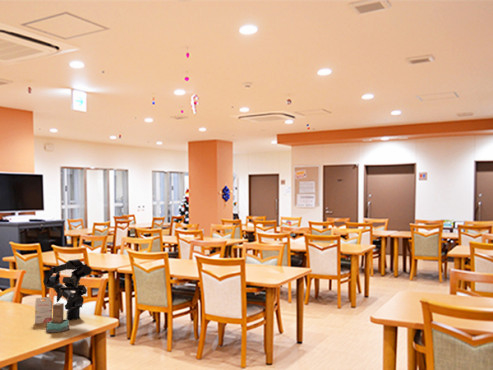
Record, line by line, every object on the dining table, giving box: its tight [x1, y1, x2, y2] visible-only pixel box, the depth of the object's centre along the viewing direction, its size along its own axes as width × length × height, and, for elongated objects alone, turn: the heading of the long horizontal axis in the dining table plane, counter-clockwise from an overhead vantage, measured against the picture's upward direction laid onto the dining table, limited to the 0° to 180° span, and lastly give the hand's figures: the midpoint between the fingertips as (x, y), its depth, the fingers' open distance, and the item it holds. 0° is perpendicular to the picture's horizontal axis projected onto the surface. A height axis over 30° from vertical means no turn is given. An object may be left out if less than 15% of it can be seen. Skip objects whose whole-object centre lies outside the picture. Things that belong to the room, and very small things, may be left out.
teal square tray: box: [45, 319, 70, 334], centre depth 233 cm, size 12×12×4 cm
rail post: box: [52, 302, 65, 323], centre depth 233 cm, size 4×4×13 cm
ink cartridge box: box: [34, 296, 53, 324], centre depth 248 cm, size 9×5×15 cm, turn 105°
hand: (64, 301), depth 241 cm, fingers open, 9 cm apart
